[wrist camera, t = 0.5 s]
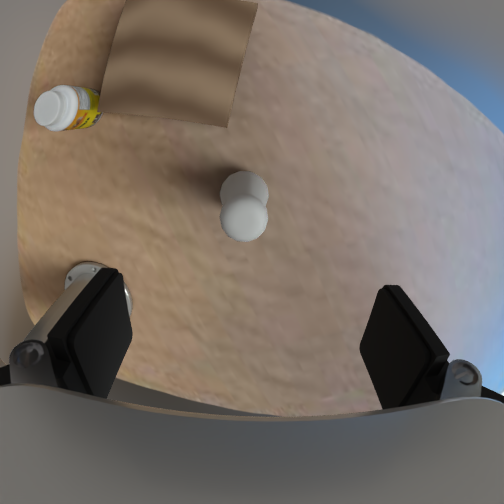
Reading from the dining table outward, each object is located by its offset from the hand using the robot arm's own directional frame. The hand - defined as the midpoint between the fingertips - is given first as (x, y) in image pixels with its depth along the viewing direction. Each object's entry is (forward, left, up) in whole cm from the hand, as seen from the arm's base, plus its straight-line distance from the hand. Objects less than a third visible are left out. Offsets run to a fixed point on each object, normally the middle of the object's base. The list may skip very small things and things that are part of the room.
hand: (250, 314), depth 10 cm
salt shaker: (-2, 0, -29) cm, 29 cm away
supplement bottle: (+6, +23, -29) cm, 38 cm away
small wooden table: (+13, +11, -29) cm, 33 cm away
